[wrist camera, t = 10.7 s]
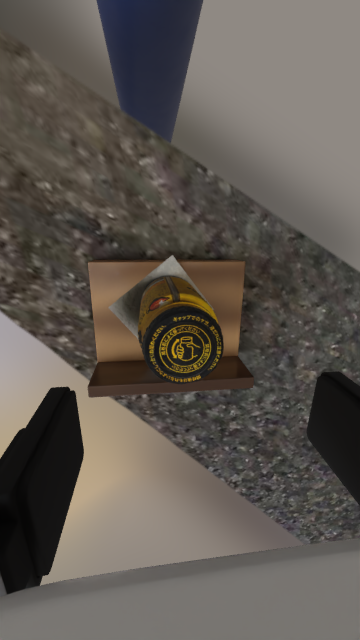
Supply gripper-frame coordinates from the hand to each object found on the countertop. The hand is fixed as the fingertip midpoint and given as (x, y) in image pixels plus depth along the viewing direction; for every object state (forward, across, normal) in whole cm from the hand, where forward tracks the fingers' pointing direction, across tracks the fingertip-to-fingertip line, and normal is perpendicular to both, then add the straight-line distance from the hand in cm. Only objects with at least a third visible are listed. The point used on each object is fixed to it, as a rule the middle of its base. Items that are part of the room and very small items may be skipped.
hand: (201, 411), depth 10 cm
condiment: (+18, +1, +1) cm, 19 cm away
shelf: (+21, 0, +2) cm, 21 cm away
